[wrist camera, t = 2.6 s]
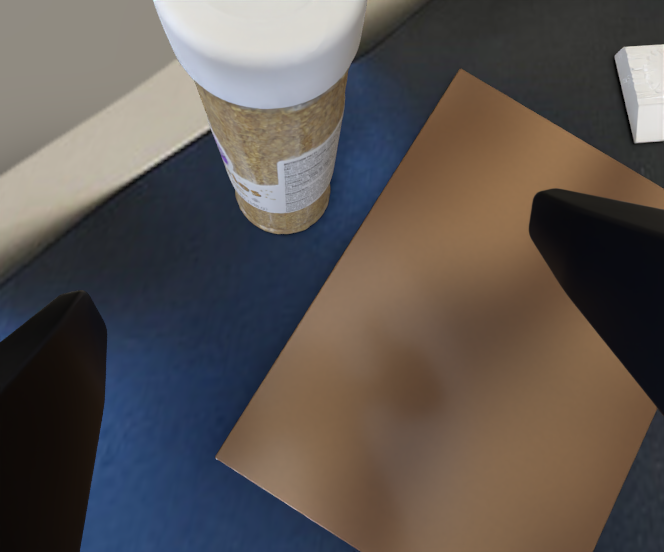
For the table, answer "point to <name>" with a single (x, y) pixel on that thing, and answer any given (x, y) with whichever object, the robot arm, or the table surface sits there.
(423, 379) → the cork placemat
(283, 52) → the sprinkles bottle
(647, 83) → the white plastic blade
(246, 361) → the table surface
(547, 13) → the table surface
